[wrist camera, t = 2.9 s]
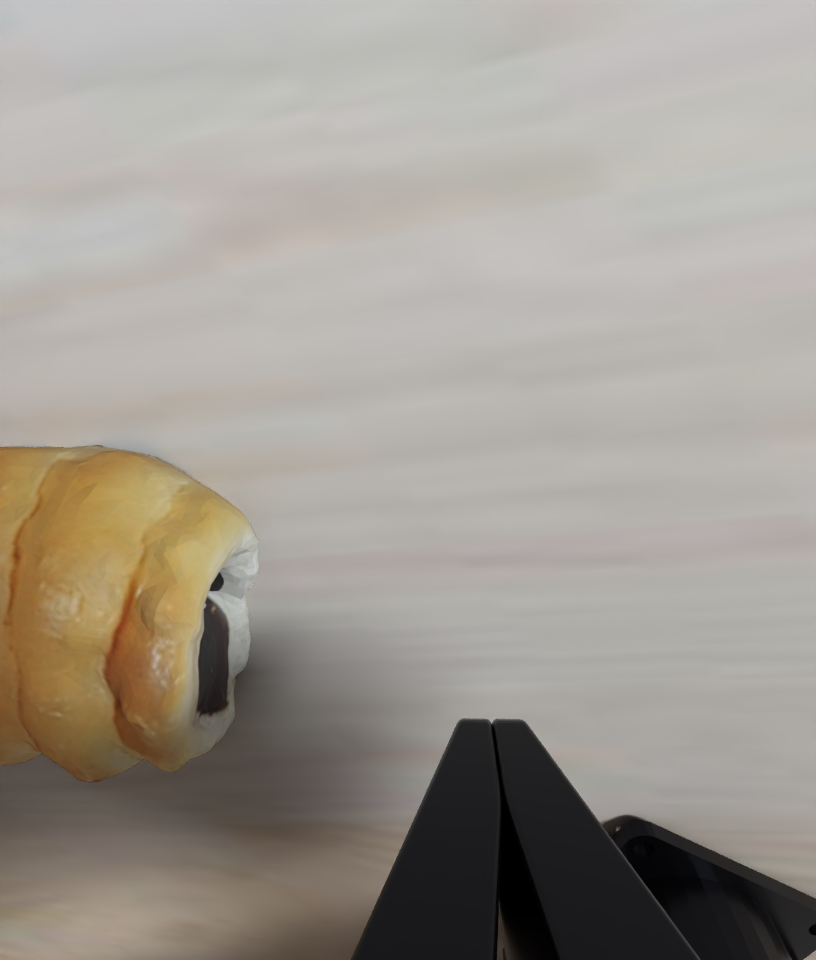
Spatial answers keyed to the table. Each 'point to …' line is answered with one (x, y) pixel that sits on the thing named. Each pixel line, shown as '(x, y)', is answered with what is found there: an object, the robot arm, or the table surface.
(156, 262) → the table surface
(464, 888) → the robot arm
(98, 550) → the pastry
